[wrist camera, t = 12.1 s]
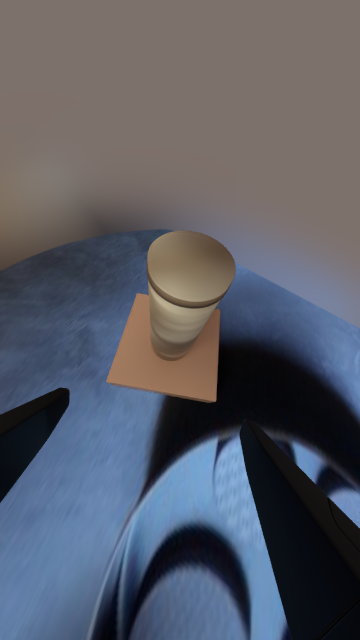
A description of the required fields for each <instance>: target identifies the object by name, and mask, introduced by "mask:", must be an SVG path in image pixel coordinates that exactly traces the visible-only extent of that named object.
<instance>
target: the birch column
mask: <svg viewBox="0 0 360 640" xmlns="http://www.w3.org/2000/svg"><path fill="white" fill-rule="evenodd" d="M147 257H148V259H147V276H148V283H149V308H150V333H151V346H152V349H153V351H154V353H155V354H156V355H157V356H158V357H160V358H161V359H163V360H167V361H176V360H179V359H181V358H183V357H184V356H185V355H186V354H187V353H188V352H189V350H190V348H191V347H192V345H193V344H194V342H195V340H196V339H197V337H198V336H199V334H200V332H201V331H202V329H203V327H204V326H205V324H206V323H207V321H208V319H209V318H210V316H211V315H212V313H213V311H214V310H215V308H216V307H217V305H218V303H219V302H220V300H221V299H222V298H223V297H224V295H225V294H226V292H227V290H228V289H229V287H230V286H231V283H232V281H233V279H234V276H235V272H236V267H235V262H234V259H233V257H232V255H231V254H230V252H229V251H228V250H227V249H226V247H224V246H223V245H222V244H221V243H220V242H218V241H217V240H215V239H213V238H212V237H210V236H207V235H205V234H202V233H198V232H193V231H174V232H170V233H167V234H164V235H162V236H160V237H159V238H157V239H156V240H155V241H154V242H153V243H152V245H151V246H150V248H149V251H148V256H147Z"/></svg>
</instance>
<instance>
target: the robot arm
mask: <svg viewBox="0 0 360 640" xmlns="http://www.w3.org/2000/svg"><path fill="white" fill-rule="evenodd" d="M69 396H70V391H69V389H67V388H58V389H56V390H54V391H51V392H49V393H47V394H45V395H43V396H40V397H38V398H36V399H34V400H32V401H30V402H27V403H25V404H23V405H21V406H19V407H16V408H14V409H12V410H10V411H8V412H6V413H3V414H1V415H0V503H1V501H2V500H3V499H4V497H5V496H6V495H7V493H8V492H9V491H10V489H11V488H12V487H13V485H14V484H15V483H16V481H17V480H18V479H19V477H20V476H21V475H22V473H23V472H24V471H25V469H26V468H27V467H28V465H29V464H30V462H31V461H32V460H33V458H34V457H35V456H36V454H37V453H38V452H39V450H40V449H41V448H42V446H43V445H44V444H45V442H46V441H47V439H48V438H49V436H50V435H51V433H52V432H53V430H54V428H55V427H56V425H57V424H58V422H59V420H60V419H61V417H62V416H63V414H64V412H65V411H66V409H67V407H68V405H69ZM240 440H241V446H242V451H243V457H244V462H245V468H246V472H247V476H248V480H249V484H250V487H251V491H252V495H253V499H254V502H255V506H256V510H257V513H258V517H259V521H260V524H261V528H262V532H263V535H264V539H265V543H266V546H267V550H268V554H269V557H270V561H271V565H272V568H273V572H274V576H275V580H276V583H277V587H278V591H279V594H280V598H281V602H282V605H283V609H284V613H285V616H286V620H287V624H288V627H289V631H290V635H291V638H292V640H360V528H359V527H358V526H357V525H356V524H355V523H354V522H353V521H352V520H351V519H350V518H349V517H348V516H347V515H346V514H345V513H344V512H343V511H342V510H341V509H340V508H339V507H338V506H337V505H336V504H335V503H334V502H333V501H332V500H331V499H330V498H328V497H327V496H326V494H325V493H324V492H323V491H322V490H321V489H320V488H319V487H318V486H317V485H316V484H315V483H314V482H313V481H312V480H311V479H310V478H309V477H308V476H307V475H306V474H305V473H304V472H303V471H302V470H301V469H300V468H299V467H298V466H297V465H296V464H295V463H294V462H293V461H292V460H291V459H290V458H289V457H288V456H287V455H286V454H285V452H284V451H283V450H282V449H281V448H280V447H279V446H278V445H277V444H276V443H275V442H274V441H273V440H272V439H271V438H270V437H269V436H268V435H267V434H266V433H265V432H264V431H263V430H262V429H261V428H260V427H259V426H258V425H257V424H256V423H255V422H254V421H252V420H248V419H245V420H244V422H243V424H242V427H241V430H240Z"/></svg>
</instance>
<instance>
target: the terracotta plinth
mask: <svg viewBox="0 0 360 640" xmlns="http://www.w3.org/2000/svg"><path fill="white" fill-rule="evenodd" d="M219 327H220V309H215V310H214V311H213V313H212V315H211V316H210V318H209V319H208V321H207V323H206V324H205V326H204V327H203V329H202V331H201V332H200V334H199V336H198V337H197V339H196V340H195V342H194V344H193V345H192V347H191V348H190V350H189V352H188V353H187V354H186V355H185V356H184V357H183V358H181V359H179V360H176V361H167V360H163V359H161V358H160V357H158V356H157V355H156V354H155V353H154V351H153V349H152V346H151V333H150V308H149V295H144V294H139V293H137V295H136V298H135V301H134V304H133V307H132V310H131V313H130V315H129V318H128V321H127V324H126V327H125V330H124V333H123V335H122V338H121V341H120V344H119V347H118V350H117V353H116V355H115V358H114V361H113V364H112V367H111V370H110V373H109V375H108V378H107V381H106V382H108V383H110V384H111V385H114V386H120V387H125V388H131V389H136V390H142V391H147V392H153V393H158V394H164V395H170V396H175V397H181V398H186V399H192V400H197V401H203V402H208V403H209V402H216V392H217V371H218V349H219Z"/></svg>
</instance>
